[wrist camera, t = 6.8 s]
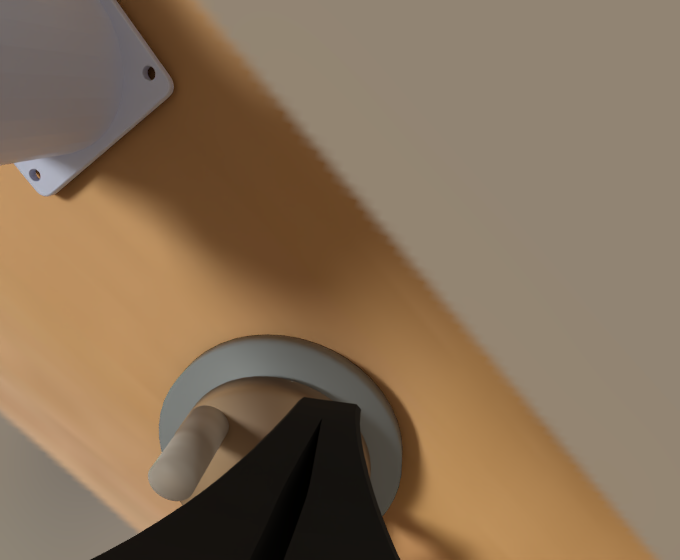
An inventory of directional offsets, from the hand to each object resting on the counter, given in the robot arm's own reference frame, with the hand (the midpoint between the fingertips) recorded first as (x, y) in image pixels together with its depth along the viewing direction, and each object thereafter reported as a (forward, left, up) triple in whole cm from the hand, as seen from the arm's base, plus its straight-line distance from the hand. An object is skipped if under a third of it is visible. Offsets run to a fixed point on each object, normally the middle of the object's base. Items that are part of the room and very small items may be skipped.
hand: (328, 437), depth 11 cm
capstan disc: (+5, -9, -9) cm, 13 cm away
